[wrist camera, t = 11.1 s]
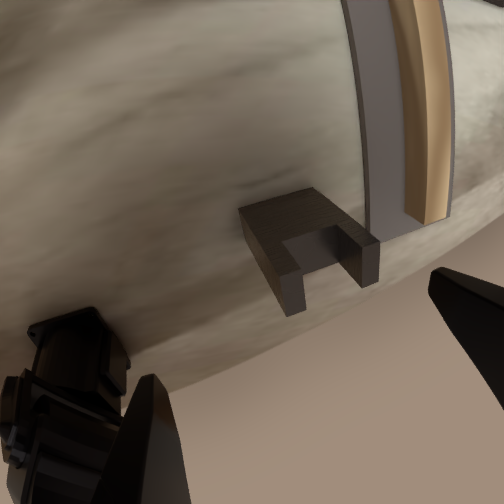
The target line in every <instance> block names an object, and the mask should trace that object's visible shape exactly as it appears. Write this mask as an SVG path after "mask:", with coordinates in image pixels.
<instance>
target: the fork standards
mask: <svg viewBox="0 0 504 504" xmlns="http://www.w3.org/2000/svg"><path fill="white" fill-rule="evenodd" d="M238 210H239V214H240V219H241V223H242V227H243V231H244V235H245V239H246V242H247V244H248V246H249V248H250V250H251V252H252V254H253V256H254V257H255V259H256V261H257V263H258V265H259V267H260V269H261V270H262V272H263V274H264V276H265V278H266V280H267V282H268V283H269V285H270V287H271V289H272V291H273V293H274V295H275V296H276V298H277V300H278V302H279V304H280V306H281V308H282V309H283V311H284V313H285V315H286V317H288V316H291V315H294V314H296V313H299V312H302V311H305V310H306V301H305V293H304V285H303V277H302V275H304V274H307V273H310V272H313V271H316V270H318V269H321V268H324V267H327V266H330V265H333V264H335V263H338V262H339V263H340V264H341V266H342V267H343V268H344V269H345V270H346V271H347V272H348V273H349V275H350V276H351V277H352V278H353V279H354V280H355V281H356V282H357V284H358V285H359V286H360V287H361V288H364V287H367V286H369V285H371V284H374V283H376V282H378V280H379V261H380V241H379V240H378V239H377V238H376V237H374V236H373V235H372V234H371V233H370V232H369V231H367V230H366V229H365V228H364V227H362V226H361V225H360V224H359V223H358V222H356V221H355V220H354V219H353V218H351V217H350V216H349V215H348V214H346V213H345V212H344V211H343V210H341V209H340V208H339V207H338V206H336V205H335V204H334V203H333V202H331V201H330V200H329V199H327V198H326V197H325V196H324V195H322V194H321V193H320V192H318V191H317V190H316V189H314V188H313V187H312V188H308V189H304V190H301V191H297V192H294V193H290V194H287V195H283V196H279V197H276V198H272V199H269V200H266V201H262V202H259V203H255V204H252V205H249V206H245V207H242V208H238Z"/></svg>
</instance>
